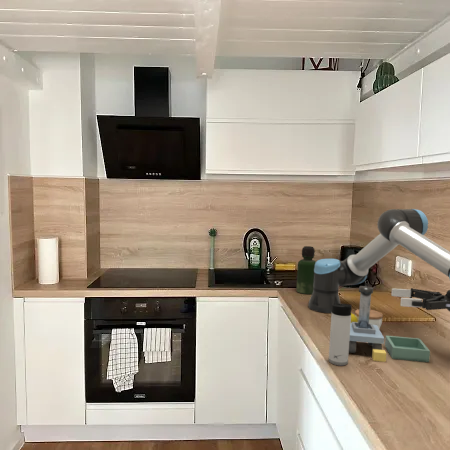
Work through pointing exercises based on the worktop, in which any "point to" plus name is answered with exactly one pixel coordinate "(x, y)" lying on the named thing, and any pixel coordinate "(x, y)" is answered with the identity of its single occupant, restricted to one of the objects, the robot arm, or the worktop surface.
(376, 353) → the block
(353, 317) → the lemon
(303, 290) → the green bottle
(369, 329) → the blue recessed platform
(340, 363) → the travel mug
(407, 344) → the tray
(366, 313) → the clear capped cylinder
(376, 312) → the lidded jar
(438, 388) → the worktop surface
